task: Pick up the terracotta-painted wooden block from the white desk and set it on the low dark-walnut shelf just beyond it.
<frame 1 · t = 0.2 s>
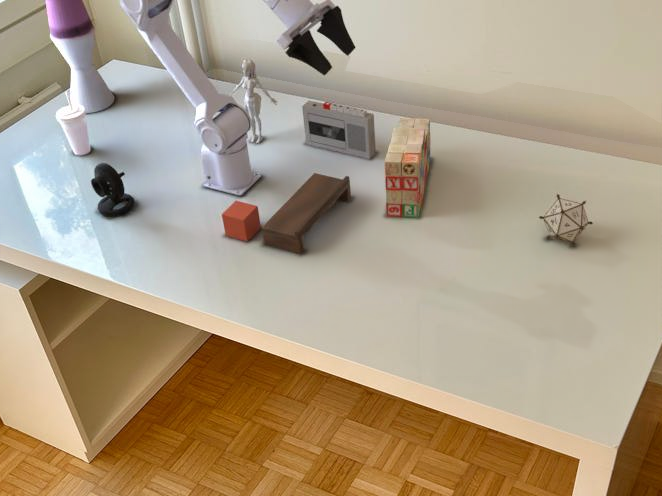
hand: (340, 61, 148), 31 cm above the table, tool tilted 45°, fingers open, 7 cm apart
stack of blocks: (409, 187, 175), on the table
game die: (563, 239, 159), on the table
webcam: (117, 208, 179), on the table
lamp: (92, 103, 213), on the table
shelf: (308, 220, 169), on the table
cassette player: (340, 149, 188), on the table
block: (243, 231, 169), on the table
smoothie: (82, 151, 196), on the table
human figurine: (258, 139, 194), on the table
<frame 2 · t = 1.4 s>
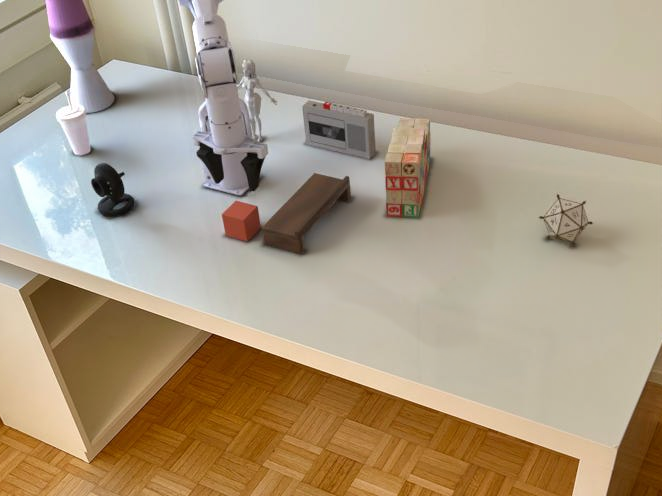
hand: (237, 184, 161), 11 cm above the table, tool pointing down, fingers open, 7 cm apart
nothing on the table moved.
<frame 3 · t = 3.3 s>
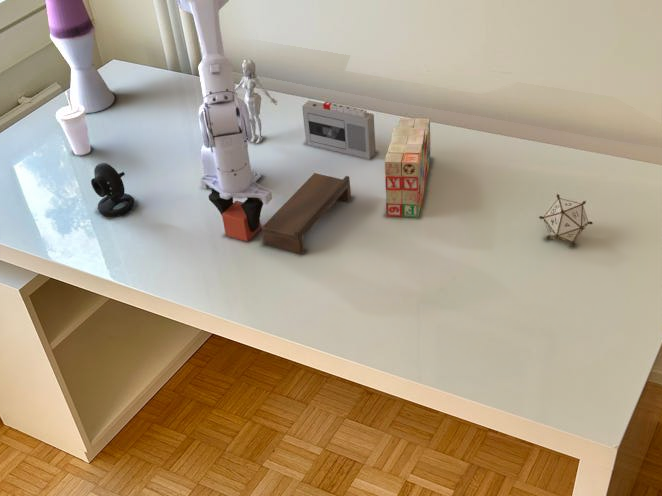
hand: (242, 225, 168), 1 cm above the table, tool pointing down, fingers closed on block, 5 cm apart
block: (243, 231, 169), on the table, touching gripper
everything else where it was.
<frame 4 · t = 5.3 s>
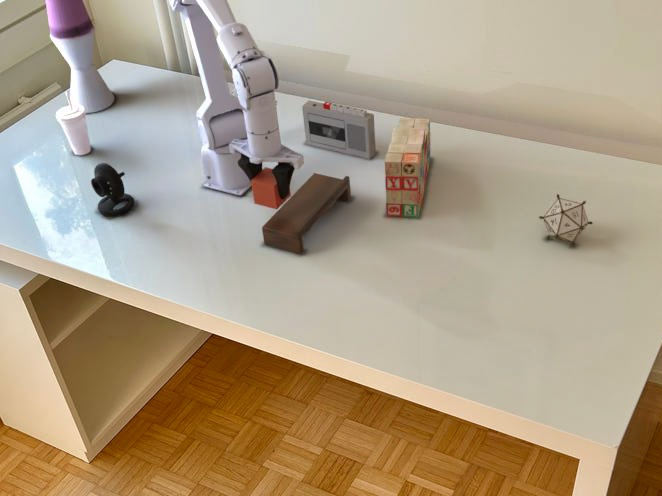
hand: (271, 193, 162), 8 cm above the table, tool pointing down, fingers closed on block, 5 cm apart
block: (272, 199, 163), point 7 cm above the table, touching gripper
everything else where it was.
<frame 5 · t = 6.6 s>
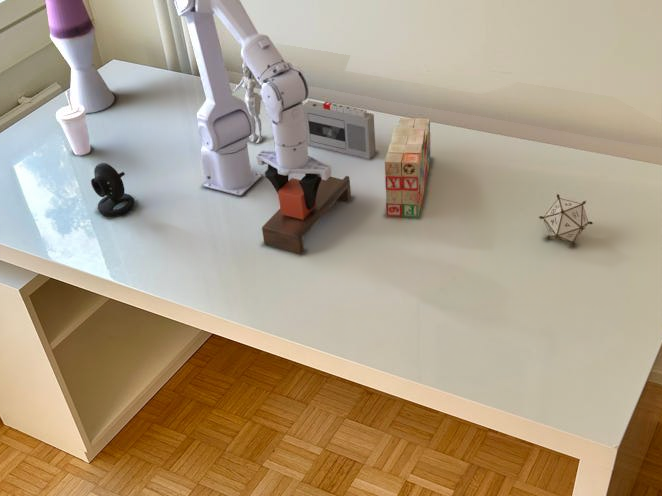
hand: (298, 203, 164), 6 cm above the table, tool pointing down, fingers closed on block, 5 cm apart
block: (298, 210, 164), point 4 cm above the table, touching gripper
everything else where it was.
when the fingers open (5 cm above the table, at t = 7.2 s): block stays where it is, resting on shelf.
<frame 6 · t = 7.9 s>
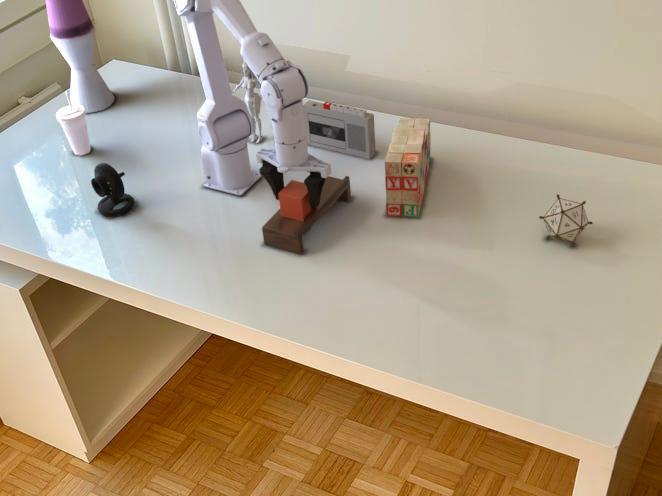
hand: (297, 201, 163), 6 cm above the table, tool pointing down, fingers open, 7 cm apart
block: (299, 212, 165), point 4 cm above the table, touching shelf
everything else where it was.
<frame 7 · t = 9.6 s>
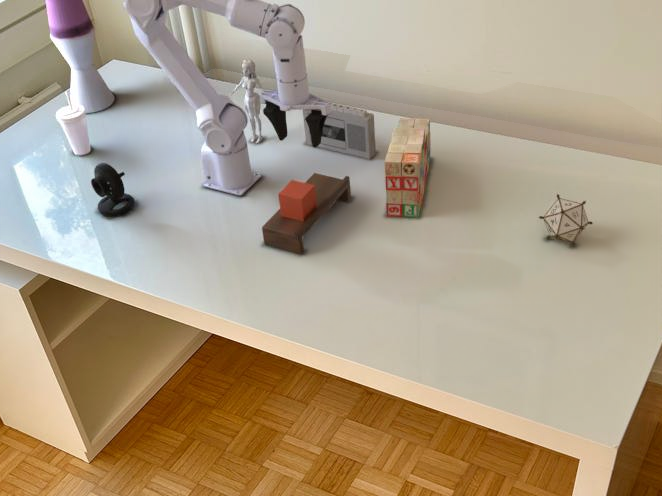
hand: (300, 141, 171), 10 cm above the table, tool pointing down, fingers open, 7 cm apart
nothing on the table moved.
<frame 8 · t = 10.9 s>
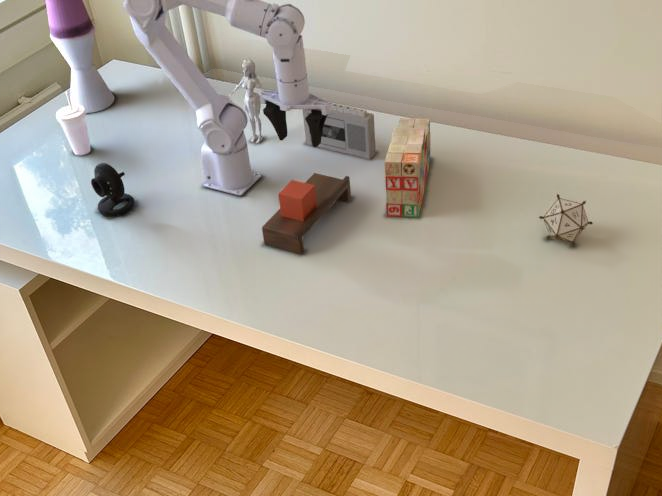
hand: (300, 141, 171), 10 cm above the table, tool pointing down, fingers open, 7 cm apart
nothing on the table moved.
at the end: block inside the target area on the shelf (3.0 cm from its centre), point 4.0 cm above the shelf's base; block tilted 0°; block touching shelf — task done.
